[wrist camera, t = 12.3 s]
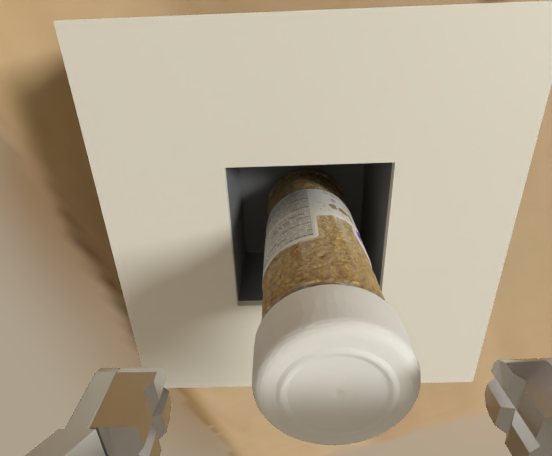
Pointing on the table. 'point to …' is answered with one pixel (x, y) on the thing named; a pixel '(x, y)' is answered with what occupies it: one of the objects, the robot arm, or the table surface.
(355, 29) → the socket block
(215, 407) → the table surface
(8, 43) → the table surface
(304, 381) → the sprinkles bottle
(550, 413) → the robot arm
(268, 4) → the table surface
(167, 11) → the table surface
